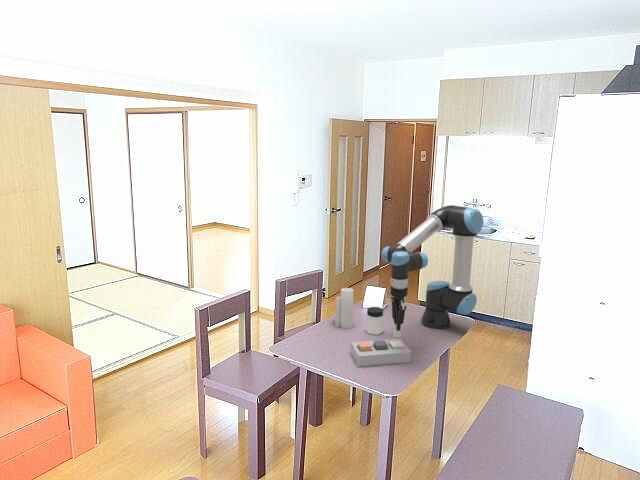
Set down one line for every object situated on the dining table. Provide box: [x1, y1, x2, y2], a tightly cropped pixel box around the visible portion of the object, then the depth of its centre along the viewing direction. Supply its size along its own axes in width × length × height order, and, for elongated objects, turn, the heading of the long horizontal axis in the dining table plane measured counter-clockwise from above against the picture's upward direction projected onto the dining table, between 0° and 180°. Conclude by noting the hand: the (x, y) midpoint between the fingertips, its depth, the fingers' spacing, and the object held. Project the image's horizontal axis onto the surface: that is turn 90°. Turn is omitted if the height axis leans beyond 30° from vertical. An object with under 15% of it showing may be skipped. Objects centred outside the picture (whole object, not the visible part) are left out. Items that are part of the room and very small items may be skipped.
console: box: [350, 338, 412, 368], centre depth 214 cm, size 24×14×5 cm, turn 101°
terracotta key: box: [357, 340, 372, 352], centre depth 212 cm, size 5×5×3 cm
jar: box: [365, 306, 385, 336], centre depth 242 cm, size 9×8×12 cm
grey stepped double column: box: [334, 287, 354, 329], centre depth 249 cm, size 11×7×20 cm, turn 48°
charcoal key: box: [373, 339, 388, 350], centre depth 214 cm, size 5×5×3 cm
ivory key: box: [389, 341, 404, 349], centre depth 215 cm, size 5×5×3 cm
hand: (397, 336), depth 214 cm, fingers closed
